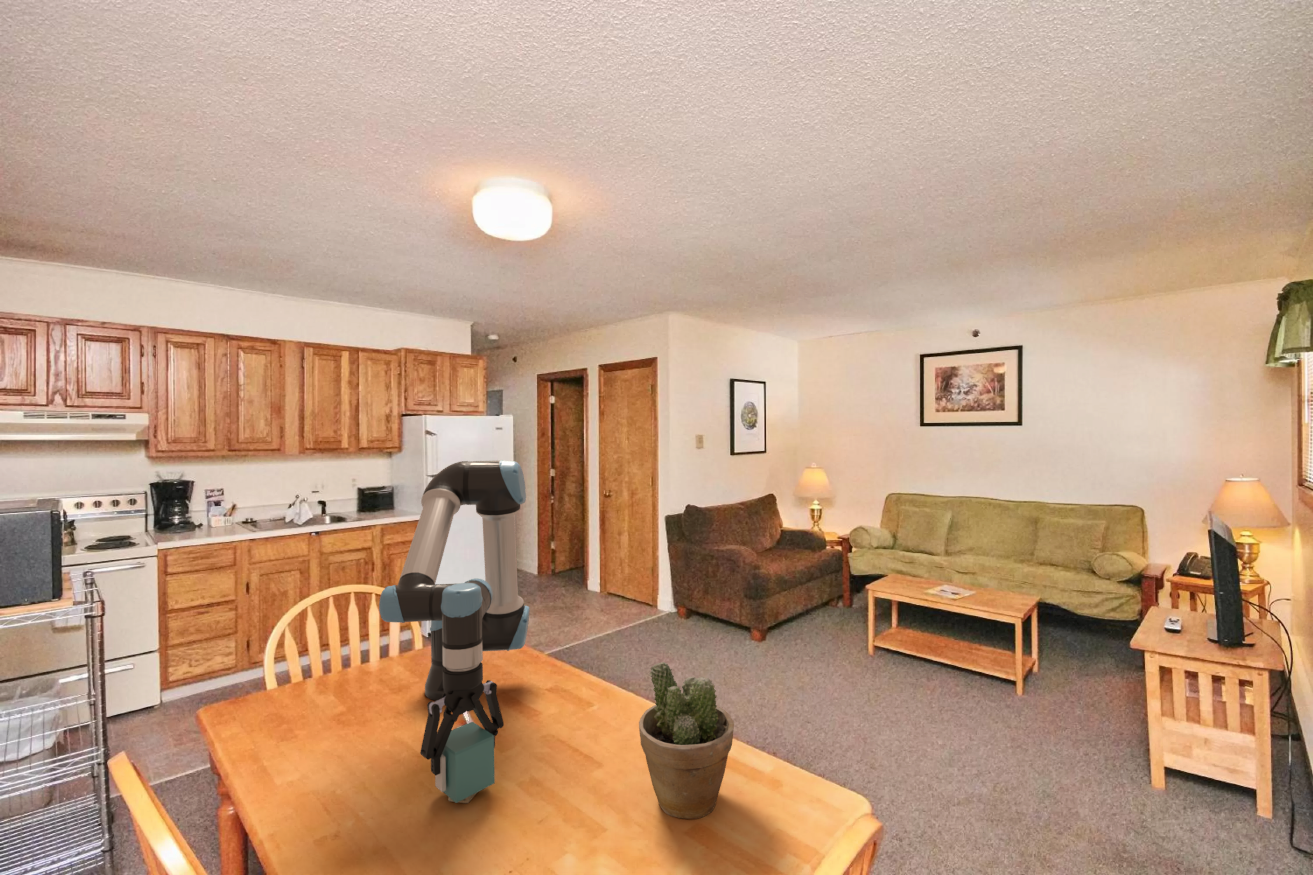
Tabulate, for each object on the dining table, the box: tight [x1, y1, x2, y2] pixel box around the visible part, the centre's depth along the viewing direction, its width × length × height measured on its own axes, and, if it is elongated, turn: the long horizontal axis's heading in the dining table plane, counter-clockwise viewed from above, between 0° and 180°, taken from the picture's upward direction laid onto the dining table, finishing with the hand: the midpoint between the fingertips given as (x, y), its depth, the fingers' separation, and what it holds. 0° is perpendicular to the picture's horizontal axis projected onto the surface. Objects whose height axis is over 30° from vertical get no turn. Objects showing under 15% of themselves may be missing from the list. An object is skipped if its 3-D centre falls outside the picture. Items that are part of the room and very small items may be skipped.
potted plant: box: [638, 661, 735, 820], centre depth 113 cm, size 18×19×25 cm
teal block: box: [442, 721, 496, 804], centre depth 115 cm, size 8×8×10 cm
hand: (464, 776), depth 115 cm, fingers open, 9 cm apart
